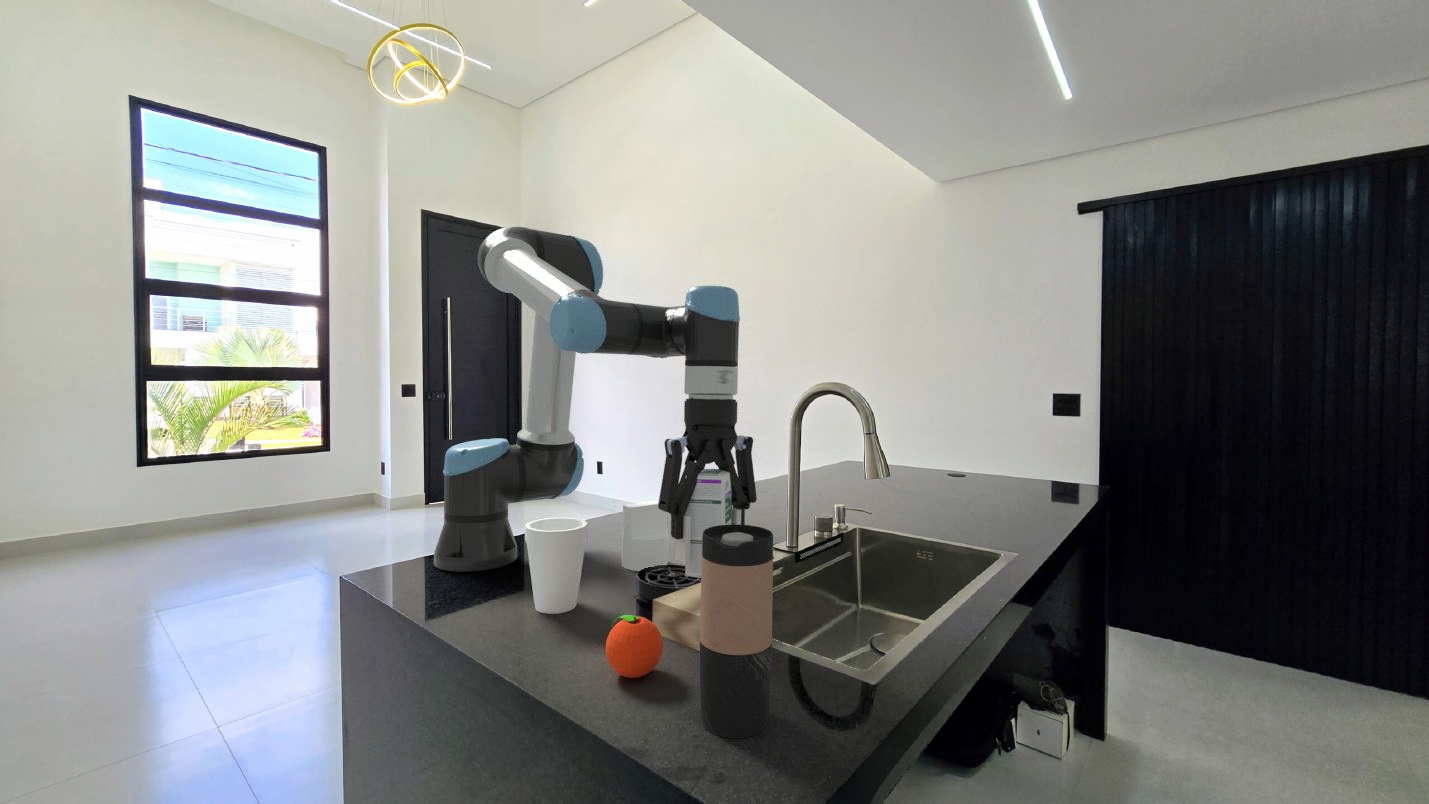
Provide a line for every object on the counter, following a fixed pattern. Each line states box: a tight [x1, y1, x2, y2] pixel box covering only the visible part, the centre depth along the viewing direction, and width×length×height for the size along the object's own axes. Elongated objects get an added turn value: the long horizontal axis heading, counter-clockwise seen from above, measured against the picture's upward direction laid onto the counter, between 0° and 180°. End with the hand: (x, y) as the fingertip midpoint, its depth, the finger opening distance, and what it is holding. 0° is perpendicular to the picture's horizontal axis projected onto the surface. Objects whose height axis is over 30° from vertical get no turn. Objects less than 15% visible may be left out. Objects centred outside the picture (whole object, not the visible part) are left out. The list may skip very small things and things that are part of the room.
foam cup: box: [524, 517, 589, 615], centre depth 95 cm, size 10×9×13 cm
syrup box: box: [684, 468, 733, 579], centre depth 86 cm, size 6×6×14 cm
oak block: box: [651, 581, 701, 652], centre depth 87 cm, size 11×11×5 cm
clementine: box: [605, 614, 664, 679], centre depth 74 cm, size 8×7×7 cm
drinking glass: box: [621, 499, 670, 570], centre depth 118 cm, size 9×9×12 cm
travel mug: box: [699, 524, 774, 739], centre depth 64 cm, size 8×8×20 cm
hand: (708, 556), depth 87 cm, fingers closed on syrup box, 8 cm apart
